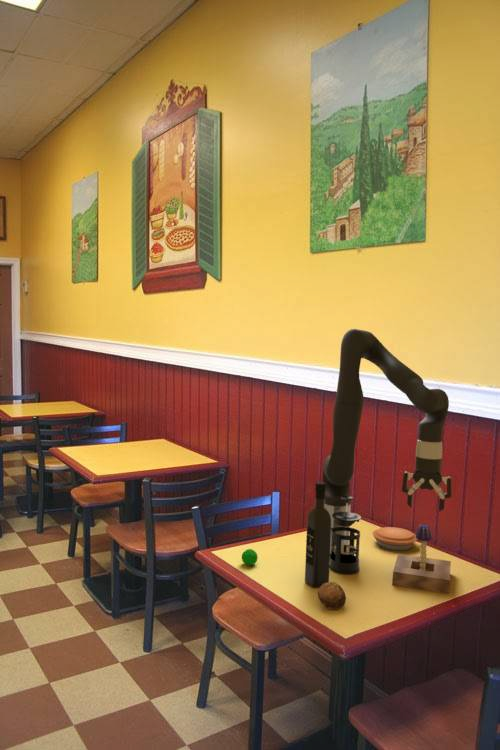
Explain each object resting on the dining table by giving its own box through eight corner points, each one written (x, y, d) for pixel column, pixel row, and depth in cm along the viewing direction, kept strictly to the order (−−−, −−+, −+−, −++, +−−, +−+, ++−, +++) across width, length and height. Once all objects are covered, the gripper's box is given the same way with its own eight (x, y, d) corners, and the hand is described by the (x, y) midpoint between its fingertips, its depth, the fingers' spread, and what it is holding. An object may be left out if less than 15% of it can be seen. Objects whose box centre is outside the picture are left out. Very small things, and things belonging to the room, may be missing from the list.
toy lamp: (430, 582, 183) (432, 528, 182) (414, 581, 184) (416, 526, 183) (428, 576, 188) (431, 523, 187) (413, 575, 189) (415, 522, 188)
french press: (366, 568, 193) (369, 496, 191) (352, 577, 185) (355, 502, 184) (333, 559, 200) (336, 490, 198) (318, 567, 193) (321, 495, 191)
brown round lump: (313, 586, 170) (323, 573, 167) (338, 596, 171) (349, 583, 168) (311, 610, 164) (322, 597, 160) (338, 621, 165) (349, 608, 161)
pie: (364, 546, 214) (365, 532, 214) (382, 535, 227) (382, 521, 226) (407, 556, 205) (408, 541, 205) (423, 544, 218) (423, 530, 218)
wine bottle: (313, 588, 176) (318, 486, 174) (303, 581, 181) (307, 481, 179) (330, 585, 179) (334, 484, 177) (319, 578, 184) (323, 480, 182)
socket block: (392, 584, 181) (392, 571, 181) (397, 565, 196) (398, 553, 196) (449, 593, 176) (449, 580, 176) (450, 573, 191) (450, 561, 191)
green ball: (239, 562, 195) (240, 547, 195) (254, 561, 196) (254, 546, 196) (244, 568, 190) (244, 553, 190) (259, 566, 192) (259, 551, 191)
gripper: (403, 455, 182) (399, 508, 183) (453, 460, 177) (449, 515, 178) (405, 450, 189) (402, 502, 190) (454, 455, 184) (450, 508, 185)
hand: (425, 508), depth 184 cm, fingers open, 8 cm apart
